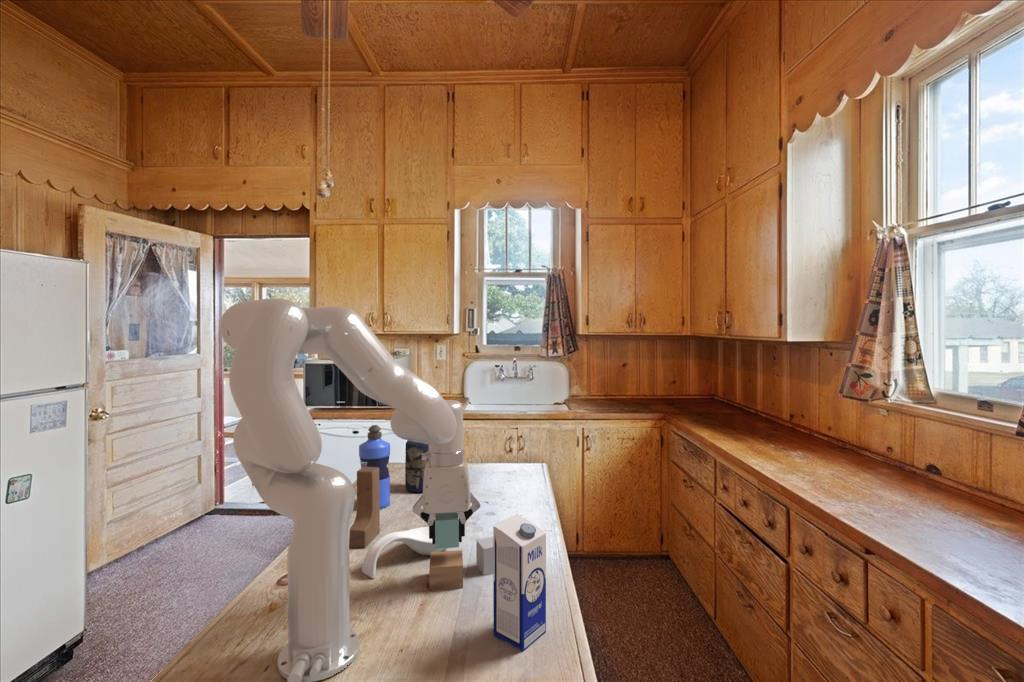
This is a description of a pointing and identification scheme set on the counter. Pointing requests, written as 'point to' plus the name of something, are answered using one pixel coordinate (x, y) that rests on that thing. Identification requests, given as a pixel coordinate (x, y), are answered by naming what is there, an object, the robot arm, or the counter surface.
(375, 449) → the water bottle
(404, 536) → the spoon rest
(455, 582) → the walnut block
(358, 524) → the wooden block
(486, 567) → the grey block
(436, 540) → the teal block
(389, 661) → the counter surface
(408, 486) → the canister
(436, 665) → the counter surface
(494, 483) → the counter surface
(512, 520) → the milk carton
